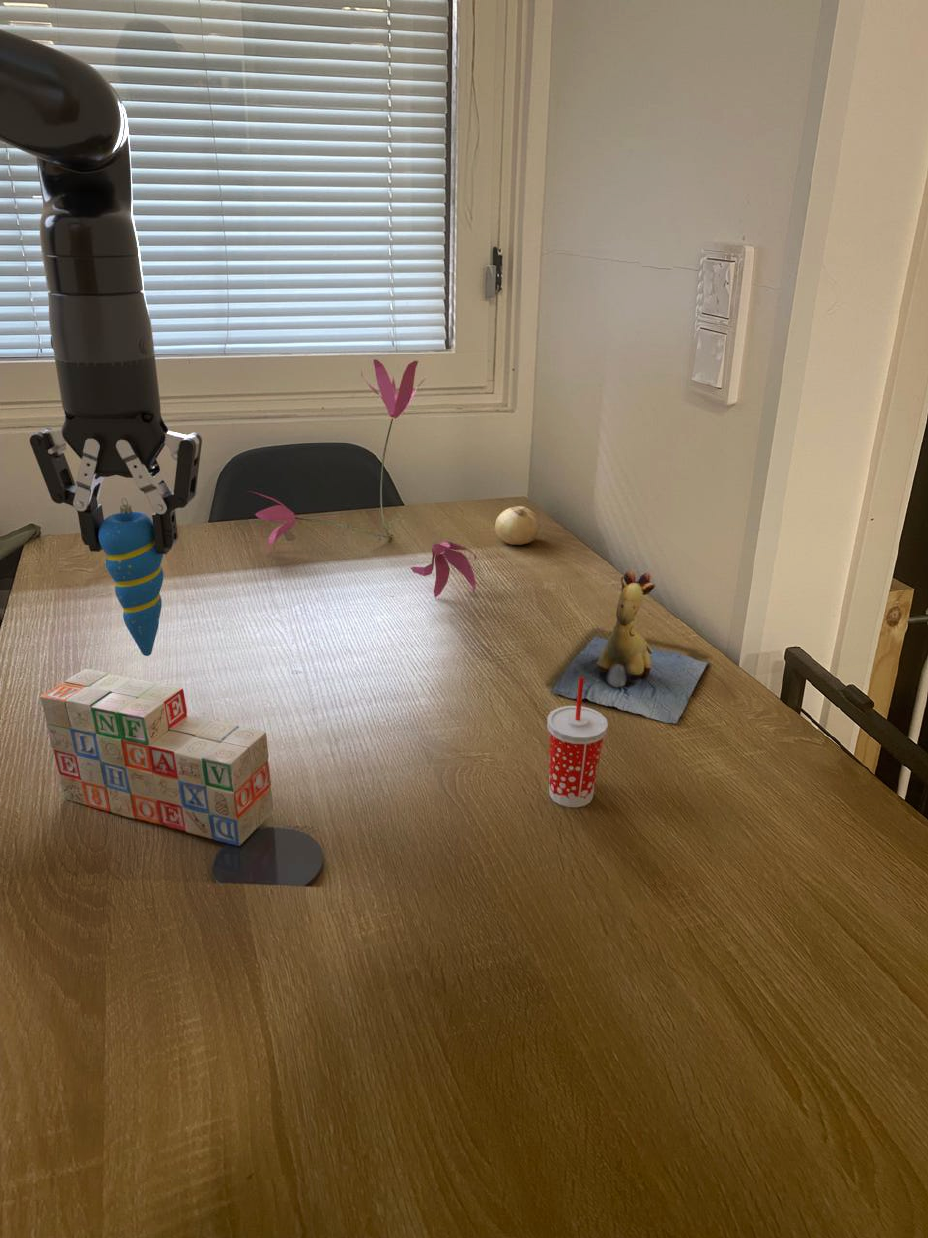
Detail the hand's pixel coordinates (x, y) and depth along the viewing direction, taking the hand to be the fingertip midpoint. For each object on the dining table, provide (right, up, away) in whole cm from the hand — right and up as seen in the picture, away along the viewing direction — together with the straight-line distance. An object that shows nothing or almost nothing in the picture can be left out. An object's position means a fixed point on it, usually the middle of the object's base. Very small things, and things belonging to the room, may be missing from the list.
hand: (131, 549), depth 80 cm
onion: (+39, +8, +85) cm, 94 cm away
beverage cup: (+40, -25, +16) cm, 50 cm away
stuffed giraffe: (+51, -14, +39) cm, 66 cm away
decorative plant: (+13, +1, +70) cm, 71 cm away
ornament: (0, -10, +5) cm, 11 cm away
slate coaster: (+11, -29, +5) cm, 31 cm away
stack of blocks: (-1, -25, +12) cm, 28 cm away
